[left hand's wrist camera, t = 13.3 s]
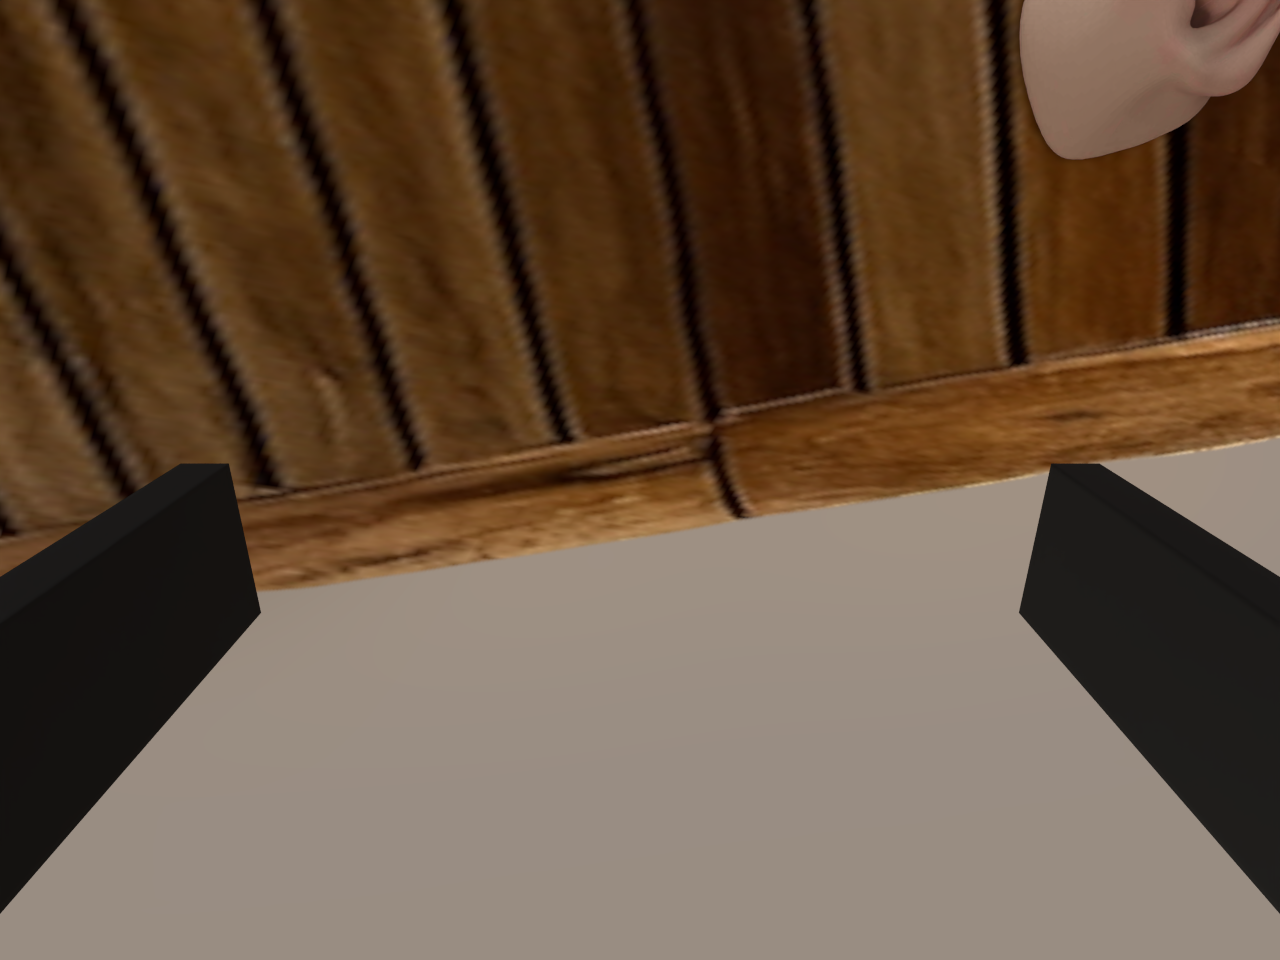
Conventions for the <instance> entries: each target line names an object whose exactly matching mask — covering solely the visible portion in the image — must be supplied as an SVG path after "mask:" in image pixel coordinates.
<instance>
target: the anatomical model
mask: <svg viewBox="0 0 1280 960" xmlns="http://www.w3.org/2000/svg"><path fill="white" fill-rule="evenodd" d="M1279 32H1280V0H1024V3H1023V8H1022V14H1021V20H1020V57H1021V63H1022V70H1023V76H1024V81H1025V85H1026V89H1027V93H1028V97H1029V101H1030V104H1031V107H1032V110H1033V113H1034V116H1035V119H1036V122H1037V124H1038V126H1039V129H1040V131H1041V133H1042V135H1043V137H1044V139H1045V141H1046V143H1047V144H1048V145H1049V147H1050V148H1051V149H1052V150H1053V151H1054V152H1055V153H1056V154H1058V155H1059V156H1061V157H1063V158H1067V159H1086V158H1092V157H1098V156H1102V155H1106V154H1109V153H1113V152H1116V151H1120V150H1124V149H1127V148H1131V147H1134V146H1137V145H1140V144H1143V143H1145V142H1148V141H1150V140H1152V139H1154V138H1157V137H1159V136H1161V135H1163V134H1165V133H1168V132H1170V131H1172V130H1174V129H1176V128H1178V127H1180V126H1181V125H1183V124H1184V123H1186V122H1188V121H1189V120H1190V119H1191V118H1192V117H1194V116H1195V115H1196V114H1197V113H1198V112H1199V111H1200V110H1201V109H1202V107H1203V106H1204V105H1205V104H1206V102H1207V101H1208V100H1209V98H1210V97H1211V96H1224V95H1228V94H1231V93H1233V92H1235V91H1238V90H1239V89H1241V88H1242V87H1244V86H1245V85H1246V84H1248V83H1249V82H1250V80H1251V79H1252V78H1253V77H1254V76H1255V74H1256V73H1257V71H1258V70H1259V68H1260V67H1261V65H1262V64H1263V62H1264V60H1265V58H1266V56H1267V54H1268V52H1269V51H1270V49H1271V47H1272V45H1273V43H1274V41H1275V40H1276V38H1277V36H1278V34H1279Z"/></svg>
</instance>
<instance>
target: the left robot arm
mask: <svg viewBox="0 0 1280 960" xmlns="http://www.w3.org/2000/svg"><path fill="white" fill-rule="evenodd" d="M260 613H261V611H260V606H259V601H258V597H257V592H256V587H255V583H254V578H253V574H252V569H251V564H250V560H249V555H248V550H247V546H246V541H245V537H244V532H243V527H242V523H241V518H240V514H239V509H238V504H237V500H236V495H235V490H234V486H233V481H232V477H231V472H230V467H229V464H179V465H178V466H176V467H175V468H173V469H171V470H170V471H168V472H167V473H165V474H163V475H162V476H160V477H159V478H157V479H156V480H154V481H152V482H151V483H149V484H148V485H146V486H144V487H143V488H141V489H140V490H138V491H136V492H135V493H133V494H132V495H130V496H128V497H127V498H125V499H124V500H122V501H120V502H119V503H117V504H116V505H114V506H113V507H111V508H109V509H108V510H106V511H105V512H103V513H101V514H100V515H98V516H97V517H95V518H93V519H92V520H90V521H89V522H87V523H85V524H84V525H82V526H81V527H79V528H77V529H76V530H74V531H73V532H71V533H70V534H68V535H66V536H65V537H63V538H62V539H60V540H58V541H57V542H55V543H54V544H52V545H50V546H49V547H47V548H46V549H44V550H42V551H41V552H39V553H38V554H36V555H34V556H33V557H31V558H30V559H28V560H27V561H25V562H23V563H22V564H20V565H19V566H17V567H15V568H14V569H12V570H11V571H9V572H7V573H6V574H4V575H3V576H1V577H0V913H1V912H2V911H3V910H4V909H5V907H6V906H7V905H8V904H9V903H10V902H11V901H12V899H13V898H14V897H15V896H16V895H17V894H18V892H19V891H20V890H21V889H22V888H23V887H24V886H25V884H26V883H27V882H28V881H29V880H30V879H31V877H32V876H33V875H34V874H35V873H36V872H37V871H38V869H39V868H40V867H41V866H42V865H43V864H44V862H45V861H46V860H47V859H48V858H49V857H50V855H51V854H52V853H53V852H54V851H55V850H56V849H57V847H58V846H59V845H60V844H61V843H62V842H63V841H64V839H65V838H66V837H67V836H68V835H69V834H70V832H71V831H72V830H73V829H74V828H75V827H76V826H77V824H78V823H79V822H80V821H81V820H82V819H83V817H84V816H85V815H86V814H87V813H88V812H89V811H90V809H91V808H92V807H93V806H94V805H95V804H96V802H97V801H98V800H99V799H100V798H101V797H102V796H103V794H104V793H105V792H106V791H107V790H108V789H109V787H110V786H111V785H112V784H113V783H114V782H115V781H116V779H117V778H118V777H119V776H120V775H121V774H122V772H123V771H124V770H125V769H126V768H127V767H128V766H129V764H130V763H131V762H132V761H133V760H134V759H135V757H136V756H137V755H138V754H139V753H140V752H141V751H142V749H143V748H144V747H145V746H146V745H147V744H148V742H149V741H150V740H151V739H152V738H153V737H154V735H155V734H156V733H157V732H158V731H159V730H160V729H161V727H162V726H163V725H164V724H165V723H166V722H167V721H168V719H169V718H170V717H171V716H172V715H173V714H174V712H175V711H176V710H177V709H178V708H179V707H180V705H181V704H182V703H183V702H184V701H185V700H186V699H187V697H188V696H189V695H190V694H191V693H192V692H193V690H194V689H195V688H196V687H197V686H198V685H199V684H200V682H201V681H202V680H203V679H204V678H205V677H206V676H207V674H208V673H209V672H210V671H211V670H212V669H213V667H214V666H215V665H216V664H217V663H218V662H219V661H220V659H221V658H222V657H223V656H224V655H225V654H226V652H227V651H228V650H229V649H230V648H231V647H232V646H233V644H234V643H235V642H236V641H237V640H238V639H239V637H240V636H241V635H242V634H243V633H244V632H245V631H246V629H247V628H248V627H249V626H250V625H251V624H252V622H253V621H254V620H255V619H256V618H257V617H258V615H259V614H260ZM1019 613H1020V614H1021V616H1022V617H1023V618H1024V619H1025V620H1026V621H1027V622H1028V624H1029V625H1030V626H1031V627H1032V628H1033V629H1034V631H1035V632H1036V633H1037V634H1038V635H1039V636H1040V637H1041V639H1042V640H1043V641H1044V642H1045V643H1046V644H1047V646H1048V647H1049V648H1050V649H1051V650H1052V651H1053V652H1054V654H1055V655H1056V656H1057V657H1058V658H1059V659H1060V661H1061V662H1062V663H1063V664H1064V665H1065V666H1066V667H1067V669H1068V670H1069V671H1070V672H1071V673H1072V674H1073V676H1074V677H1075V678H1076V679H1077V680H1078V681H1079V682H1080V684H1081V685H1082V686H1083V687H1084V688H1085V689H1086V691H1087V692H1088V693H1089V694H1090V695H1091V696H1092V697H1093V699H1094V700H1095V701H1096V702H1097V703H1098V704H1099V706H1100V707H1101V708H1102V709H1103V710H1104V711H1105V712H1106V714H1107V715H1108V716H1109V717H1110V718H1111V719H1112V720H1113V722H1114V723H1115V724H1116V725H1117V726H1118V727H1119V729H1120V730H1121V731H1122V732H1123V733H1124V734H1125V735H1126V737H1127V738H1128V739H1129V740H1130V741H1131V742H1132V744H1133V745H1134V746H1135V747H1136V748H1137V749H1138V751H1139V752H1140V753H1141V754H1142V755H1143V756H1144V757H1145V759H1146V760H1147V761H1148V762H1149V763H1150V764H1151V766H1152V767H1153V768H1154V769H1155V770H1156V771H1157V772H1158V774H1159V775H1160V776H1161V777H1162V778H1163V779H1164V781H1165V782H1166V783H1167V784H1168V785H1169V786H1170V787H1171V789H1172V790H1173V791H1174V792H1175V793H1176V794H1177V796H1178V797H1179V798H1180V799H1181V800H1182V801H1183V802H1184V804H1185V805H1186V806H1187V807H1188V808H1189V809H1190V811H1191V812H1192V813H1193V814H1194V815H1195V816H1196V817H1197V819H1198V820H1199V821H1200V822H1201V823H1202V824H1203V826H1204V827H1205V828H1206V829H1207V830H1208V831H1209V832H1210V834H1211V835H1212V836H1213V837H1214V838H1215V839H1216V841H1217V842H1218V843H1219V844H1220V845H1221V846H1222V847H1223V849H1224V850H1225V851H1226V852H1227V853H1228V854H1229V856H1230V857H1231V858H1232V859H1233V860H1234V861H1235V862H1236V864H1237V865H1238V866H1239V867H1240V868H1241V869H1242V871H1243V872H1244V873H1245V874H1246V875H1247V876H1248V877H1249V879H1250V880H1251V881H1252V882H1253V883H1254V884H1255V886H1256V887H1257V888H1258V889H1259V890H1260V891H1261V892H1262V894H1263V895H1264V896H1265V897H1266V898H1267V899H1268V901H1269V902H1270V903H1271V904H1272V905H1273V906H1274V907H1275V909H1276V910H1277V911H1278V912H1279V913H1280V577H1279V576H1277V575H1276V574H1274V573H1273V572H1271V571H1269V570H1268V569H1266V568H1265V567H1263V566H1261V565H1260V564H1258V563H1257V562H1255V561H1253V560H1252V559H1250V558H1249V557H1247V556H1246V555H1244V554H1242V553H1241V552H1239V551H1238V550H1236V549H1234V548H1233V547H1231V546H1230V545H1228V544H1226V543H1225V542H1223V541H1222V540H1220V539H1218V538H1217V537H1215V536H1214V535H1212V534H1210V533H1209V532H1207V531H1206V530H1204V529H1202V528H1201V527H1199V526H1198V525H1196V524H1195V523H1193V522H1191V521H1190V520H1188V519H1187V518H1185V517H1183V516H1182V515H1180V514H1179V513H1177V512H1175V511H1174V510H1172V509H1171V508H1169V507H1167V506H1166V505H1164V504H1163V503H1161V502H1160V501H1158V500H1156V499H1155V498H1153V497H1151V496H1150V495H1148V494H1147V493H1145V492H1144V491H1142V490H1140V489H1139V488H1137V487H1136V486H1134V485H1132V484H1131V483H1129V482H1128V481H1126V480H1124V479H1123V478H1121V477H1120V476H1118V475H1116V474H1115V473H1113V472H1112V471H1110V470H1109V469H1107V468H1105V467H1104V466H1102V465H1101V464H1051V467H1050V472H1049V477H1048V481H1047V486H1046V490H1045V495H1044V500H1043V504H1042V509H1041V514H1040V518H1039V523H1038V527H1037V532H1036V537H1035V541H1034V546H1033V551H1032V555H1031V560H1030V564H1029V569H1028V574H1027V578H1026V583H1025V587H1024V592H1023V597H1022V601H1021V606H1020V611H1019Z"/></svg>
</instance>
